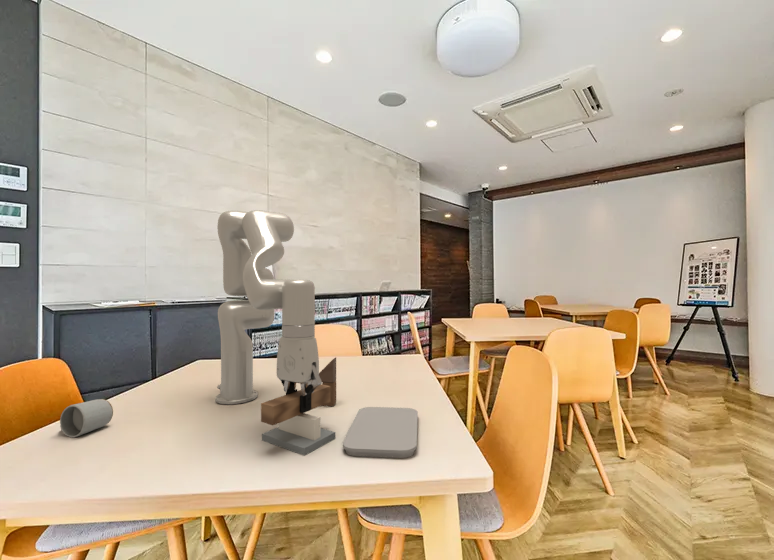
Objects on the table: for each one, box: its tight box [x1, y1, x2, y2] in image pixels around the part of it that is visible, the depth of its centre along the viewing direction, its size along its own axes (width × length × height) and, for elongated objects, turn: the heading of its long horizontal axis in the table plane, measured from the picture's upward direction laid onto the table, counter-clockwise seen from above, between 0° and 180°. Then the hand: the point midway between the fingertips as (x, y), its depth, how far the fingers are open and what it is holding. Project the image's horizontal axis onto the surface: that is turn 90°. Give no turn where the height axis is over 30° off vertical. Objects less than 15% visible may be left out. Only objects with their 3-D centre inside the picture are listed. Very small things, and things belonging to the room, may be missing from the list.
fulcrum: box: [261, 412, 336, 456], centre depth 85 cm, size 14×10×6 cm
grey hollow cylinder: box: [59, 398, 114, 438], centre depth 91 cm, size 11×8×8 cm
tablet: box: [342, 406, 419, 459], centre depth 88 cm, size 16×26×2 cm, turn 174°
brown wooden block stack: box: [306, 356, 337, 407], centre depth 110 cm, size 4×11×18 cm, turn 83°
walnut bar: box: [260, 384, 330, 426], centre depth 85 cm, size 18×4×4 cm, turn 147°
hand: (298, 408), depth 85 cm, fingers closed on walnut bar, 3 cm apart
